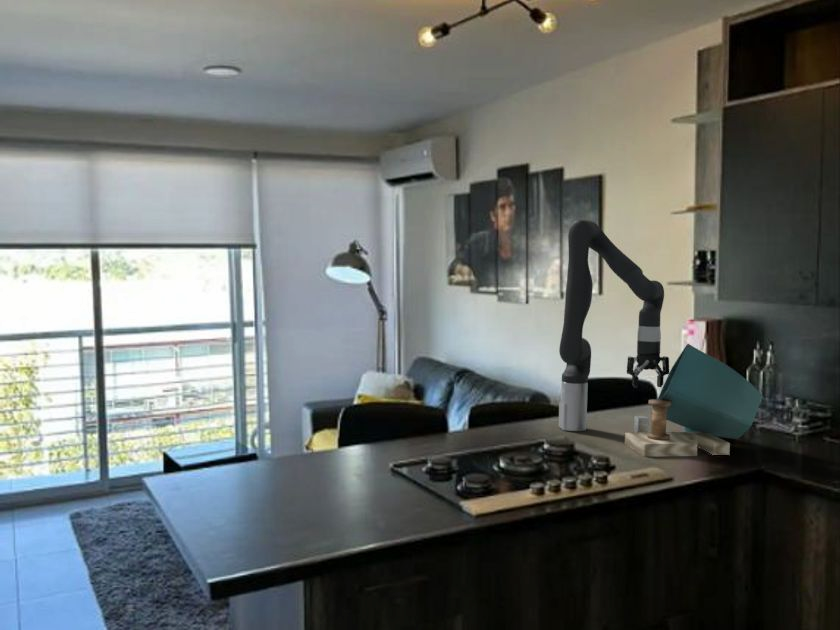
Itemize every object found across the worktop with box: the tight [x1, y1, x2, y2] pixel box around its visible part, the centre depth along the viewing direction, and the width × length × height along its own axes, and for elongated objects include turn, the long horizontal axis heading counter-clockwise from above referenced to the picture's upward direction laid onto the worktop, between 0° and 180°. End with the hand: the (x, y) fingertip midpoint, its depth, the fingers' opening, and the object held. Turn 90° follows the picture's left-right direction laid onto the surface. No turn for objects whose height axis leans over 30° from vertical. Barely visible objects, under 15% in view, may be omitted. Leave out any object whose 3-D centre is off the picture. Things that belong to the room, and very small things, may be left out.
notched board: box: [624, 431, 731, 458], centre depth 244 cm, size 28×16×4 cm, turn 96°
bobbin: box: [647, 398, 671, 440], centre depth 243 cm, size 7×7×12 cm
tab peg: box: [633, 415, 650, 432], centre depth 257 cm, size 4×4×8 cm
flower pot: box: [651, 343, 763, 440], centre depth 249 cm, size 20×20×28 cm
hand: (647, 387), depth 255 cm, fingers open, 8 cm apart
